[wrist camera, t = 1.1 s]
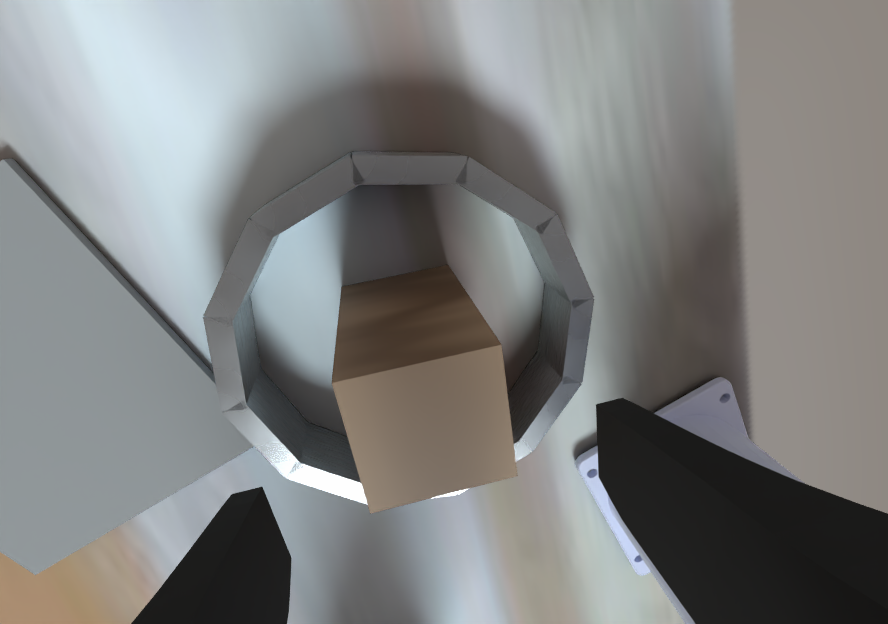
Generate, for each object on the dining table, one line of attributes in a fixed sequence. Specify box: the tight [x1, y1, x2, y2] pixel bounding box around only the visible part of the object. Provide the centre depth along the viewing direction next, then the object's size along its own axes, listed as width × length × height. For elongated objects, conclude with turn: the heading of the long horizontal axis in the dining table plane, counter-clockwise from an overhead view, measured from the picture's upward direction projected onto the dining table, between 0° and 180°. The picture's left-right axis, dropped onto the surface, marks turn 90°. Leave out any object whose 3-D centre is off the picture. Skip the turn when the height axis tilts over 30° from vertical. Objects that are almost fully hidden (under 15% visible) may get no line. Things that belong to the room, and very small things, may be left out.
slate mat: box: [0, 158, 254, 575], centre depth 16 cm, size 12×11×1 cm
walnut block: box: [332, 265, 518, 514], centre depth 15 cm, size 4×4×7 cm
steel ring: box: [203, 151, 594, 504], centre depth 17 cm, size 13×13×2 cm
